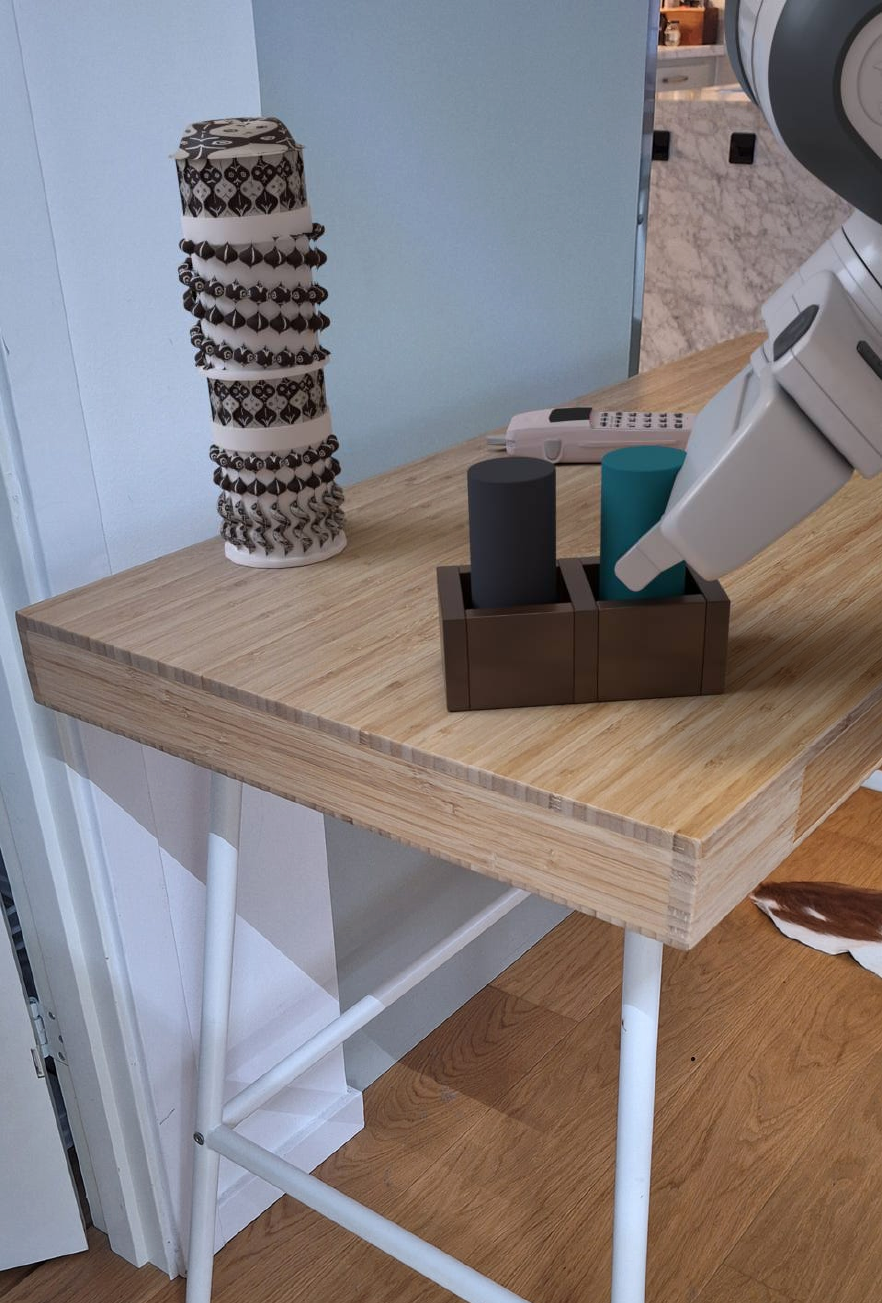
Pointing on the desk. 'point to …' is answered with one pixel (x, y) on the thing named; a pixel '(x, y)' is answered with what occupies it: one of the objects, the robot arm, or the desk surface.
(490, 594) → the seated dark gray cylinder
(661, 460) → the teal cylinder
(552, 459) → the mobile phone
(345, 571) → the desk surface
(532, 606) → the mount block
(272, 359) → the white patterned tall cylinder
